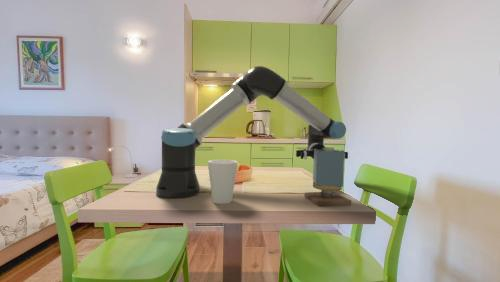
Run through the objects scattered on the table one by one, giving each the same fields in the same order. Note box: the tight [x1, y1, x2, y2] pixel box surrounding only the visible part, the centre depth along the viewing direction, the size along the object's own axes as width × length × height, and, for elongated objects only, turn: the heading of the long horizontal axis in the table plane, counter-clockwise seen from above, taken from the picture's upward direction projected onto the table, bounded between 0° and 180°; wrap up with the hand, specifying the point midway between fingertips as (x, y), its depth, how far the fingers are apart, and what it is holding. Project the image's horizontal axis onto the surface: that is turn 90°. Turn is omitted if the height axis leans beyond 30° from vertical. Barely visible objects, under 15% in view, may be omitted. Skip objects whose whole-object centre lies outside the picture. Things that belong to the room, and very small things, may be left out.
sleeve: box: [312, 149, 345, 187], centre depth 80 cm, size 8×8×11 cm
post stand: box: [304, 146, 352, 207], centre depth 80 cm, size 11×11×18 cm
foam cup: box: [207, 159, 238, 205], centre depth 78 cm, size 10×9×13 cm
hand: (324, 156), depth 89 cm, fingers open, 13 cm apart
